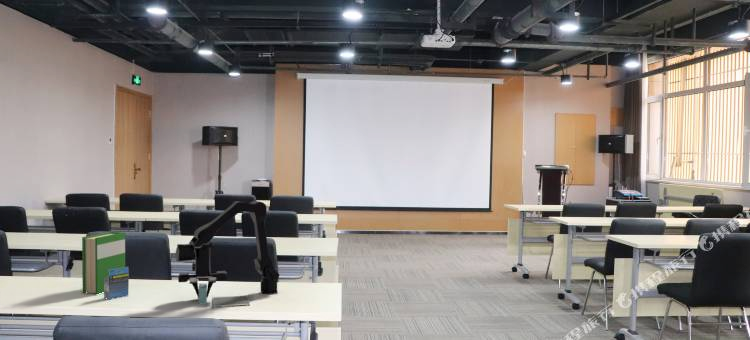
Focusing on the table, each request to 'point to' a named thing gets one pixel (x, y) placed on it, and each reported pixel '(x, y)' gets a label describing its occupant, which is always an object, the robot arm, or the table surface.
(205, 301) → the block
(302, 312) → the table surface
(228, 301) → the mat
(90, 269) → the hardback book
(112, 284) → the label tape box
